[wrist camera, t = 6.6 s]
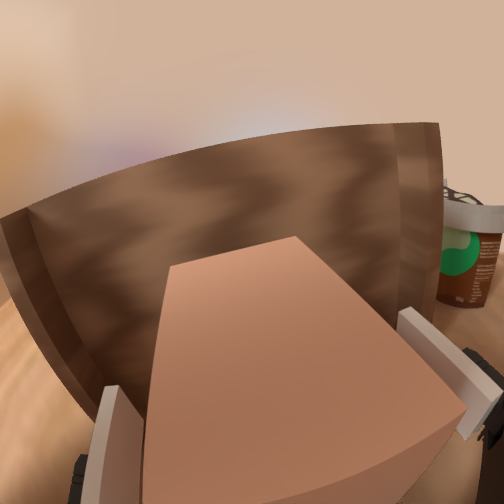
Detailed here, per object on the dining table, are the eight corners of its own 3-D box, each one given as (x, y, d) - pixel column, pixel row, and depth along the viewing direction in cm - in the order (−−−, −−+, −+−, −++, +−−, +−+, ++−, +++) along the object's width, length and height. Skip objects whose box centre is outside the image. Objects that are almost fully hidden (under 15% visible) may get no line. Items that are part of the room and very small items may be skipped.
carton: (266, 560, 7) (142, 513, 2) (237, 435, 15) (170, 266, 11) (367, 530, 7) (467, 408, 3) (313, 414, 16) (295, 235, 11)
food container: (398, 264, 31) (397, 180, 27) (441, 258, 29) (444, 177, 26) (437, 328, 19) (452, 212, 16) (490, 315, 18) (509, 207, 14)
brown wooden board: (118, 448, 14) (-16, 226, 8) (123, 412, 17) (21, 209, 12) (420, 366, 16) (438, 122, 11) (396, 340, 20) (397, 123, 14)
